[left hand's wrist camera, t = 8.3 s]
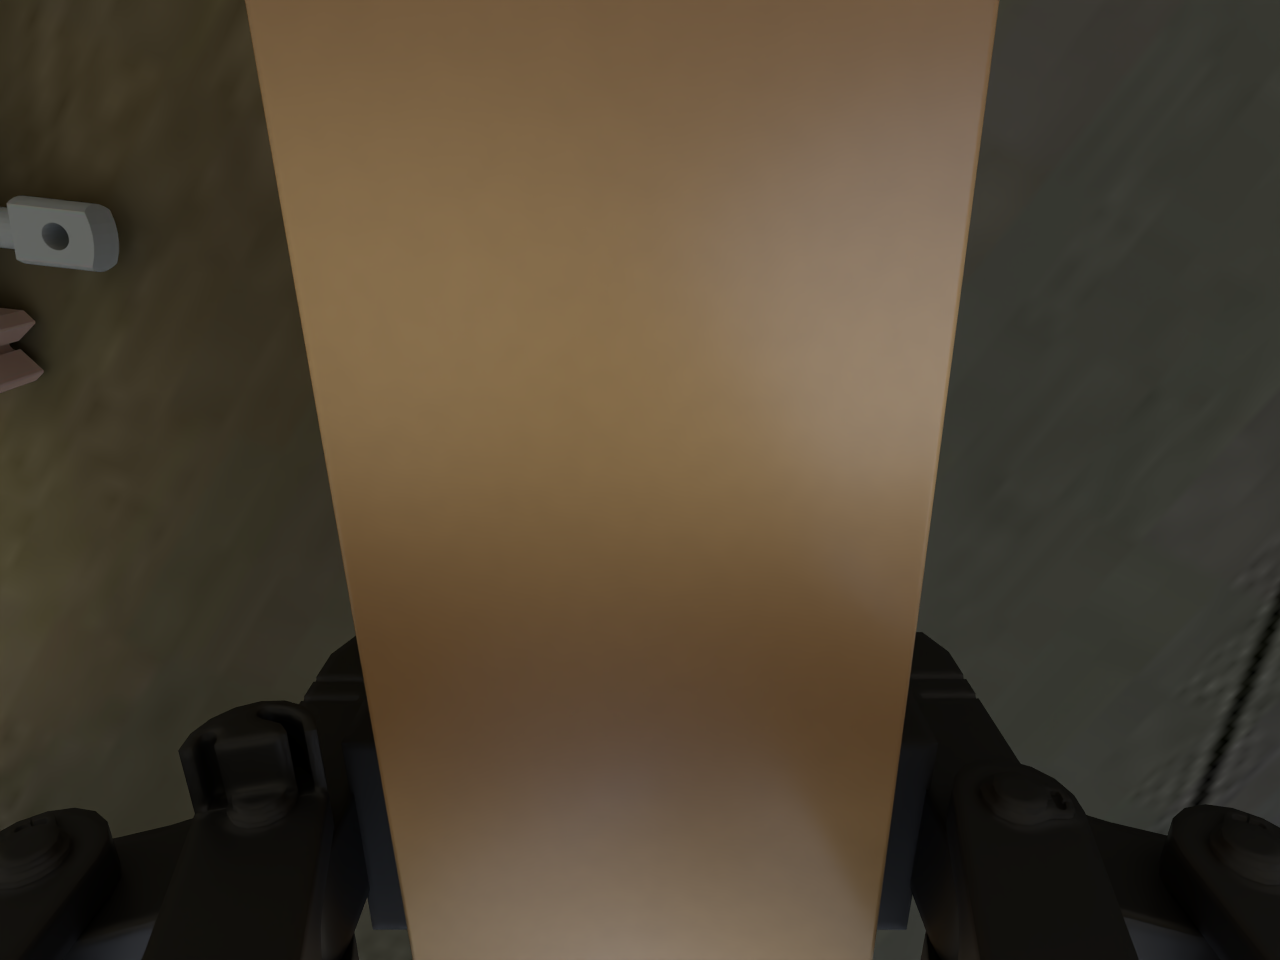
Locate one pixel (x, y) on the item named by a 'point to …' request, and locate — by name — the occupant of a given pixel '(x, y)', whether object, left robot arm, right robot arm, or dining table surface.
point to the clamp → (49, 261)
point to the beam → (631, 441)
